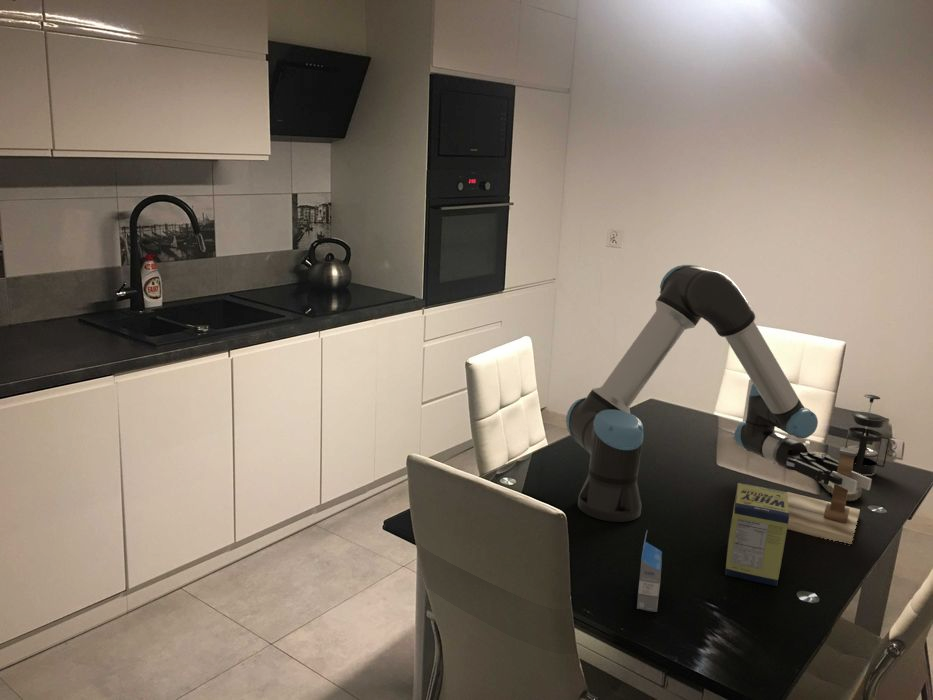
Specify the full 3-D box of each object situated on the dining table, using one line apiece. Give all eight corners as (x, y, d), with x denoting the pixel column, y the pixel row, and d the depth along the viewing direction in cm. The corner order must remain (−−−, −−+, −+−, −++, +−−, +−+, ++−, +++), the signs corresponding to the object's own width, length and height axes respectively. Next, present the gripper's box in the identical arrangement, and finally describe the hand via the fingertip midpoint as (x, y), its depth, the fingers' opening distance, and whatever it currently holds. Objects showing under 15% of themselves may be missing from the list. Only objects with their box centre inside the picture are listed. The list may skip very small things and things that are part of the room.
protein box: (776, 555, 176) (787, 489, 172) (777, 587, 161) (790, 516, 158) (727, 545, 179) (737, 480, 176) (724, 575, 165) (735, 505, 161)
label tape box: (656, 613, 148) (665, 552, 146) (634, 608, 150) (642, 548, 147) (658, 590, 157) (666, 532, 154) (637, 586, 158) (645, 529, 155)
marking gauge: (846, 523, 190) (858, 455, 186) (823, 517, 193) (835, 450, 189) (848, 516, 194) (860, 450, 191) (826, 510, 197) (838, 445, 193)
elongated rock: (830, 465, 242) (796, 463, 243) (832, 448, 241) (797, 446, 243) (870, 505, 208) (830, 502, 209) (872, 485, 207) (832, 482, 208)
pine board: (851, 545, 183) (852, 537, 183) (756, 520, 193) (757, 513, 193) (858, 516, 200) (860, 509, 200) (771, 495, 210) (772, 488, 210)
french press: (836, 471, 233) (850, 395, 228) (839, 462, 241) (853, 388, 236) (881, 481, 227) (896, 403, 222) (883, 471, 235) (897, 396, 230)
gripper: (807, 462, 212) (884, 496, 191) (758, 468, 204) (833, 504, 184) (811, 435, 210) (890, 467, 189) (762, 440, 203) (839, 474, 182)
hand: (862, 485), depth 187 cm, fingers closed on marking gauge, 4 cm apart
